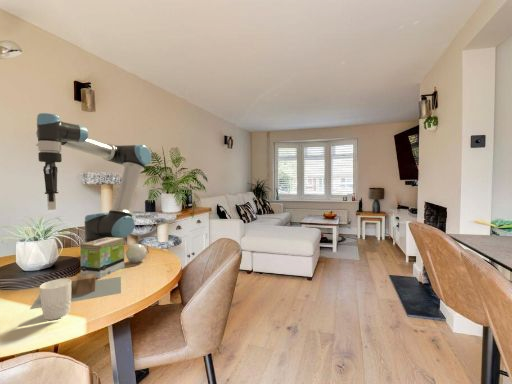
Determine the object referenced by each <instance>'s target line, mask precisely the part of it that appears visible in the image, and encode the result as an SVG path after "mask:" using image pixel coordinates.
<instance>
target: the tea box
mask: <svg viewBox="0 0 512 384" xmlns="http://www.w3.org/2000/svg"><path fill="white" fill-rule="evenodd" d="M123 268H124V269H125V238H114V237H106V238H102V239H98V240H95V241H91V242H87V243H85V242H83V243H80V276H81V275H88V274H95V273H96V279H98V280H101V279H103V278H104V277H107V276H109V275H111V274H113V273H115V272H116V271H119V270H123Z"/></svg>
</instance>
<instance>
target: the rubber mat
mask: <svg viewBox="0 0 512 384" xmlns="http://www.w3.org/2000/svg"><path fill="white" fill-rule="evenodd" d="M118 294H122V276H116V277H110V278H104V279H103V278H102V279H96V288H95V291H92V292H86V293H80V294H74V295H71V303H73V302H78V301H83V300H89V299H90V300H91V299H95V298H100V297H101V298H102V297H106V296H112V295H118ZM39 308H42V306H41V298H40V294H39V295H38V296H37V298H36V299H35V300H34V302H33V304H31V306H30V308H29V310H34V309H39Z"/></svg>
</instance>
